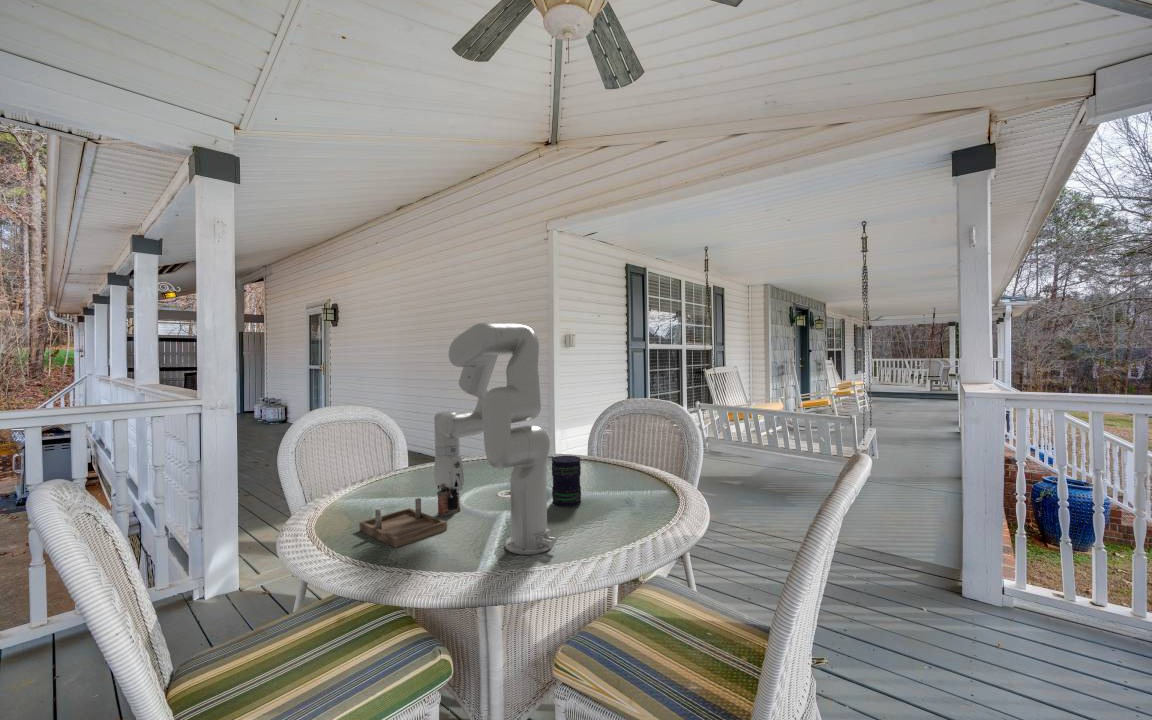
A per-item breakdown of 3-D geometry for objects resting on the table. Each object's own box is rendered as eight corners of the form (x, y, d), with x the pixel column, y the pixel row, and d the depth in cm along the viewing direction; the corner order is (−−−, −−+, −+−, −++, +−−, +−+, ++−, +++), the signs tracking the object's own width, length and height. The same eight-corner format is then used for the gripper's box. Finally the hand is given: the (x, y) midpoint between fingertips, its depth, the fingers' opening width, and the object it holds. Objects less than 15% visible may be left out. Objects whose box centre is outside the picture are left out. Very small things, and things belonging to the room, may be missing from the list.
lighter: (442, 517, 151) (441, 485, 151) (435, 515, 153) (434, 483, 153) (462, 510, 158) (461, 479, 158) (455, 508, 160) (455, 478, 160)
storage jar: (547, 500, 167) (547, 457, 167) (573, 496, 171) (573, 454, 171) (559, 509, 158) (558, 463, 158) (586, 504, 162) (585, 460, 162)
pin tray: (446, 530, 141) (446, 505, 141) (395, 547, 129) (394, 520, 129) (409, 515, 154) (409, 492, 154) (359, 530, 142) (359, 505, 142)
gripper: (473, 451, 153) (474, 509, 153) (442, 446, 163) (444, 500, 164) (453, 455, 147) (454, 516, 147) (422, 449, 158) (424, 506, 158)
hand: (449, 507), depth 155 cm, fingers closed on lighter, 3 cm apart
